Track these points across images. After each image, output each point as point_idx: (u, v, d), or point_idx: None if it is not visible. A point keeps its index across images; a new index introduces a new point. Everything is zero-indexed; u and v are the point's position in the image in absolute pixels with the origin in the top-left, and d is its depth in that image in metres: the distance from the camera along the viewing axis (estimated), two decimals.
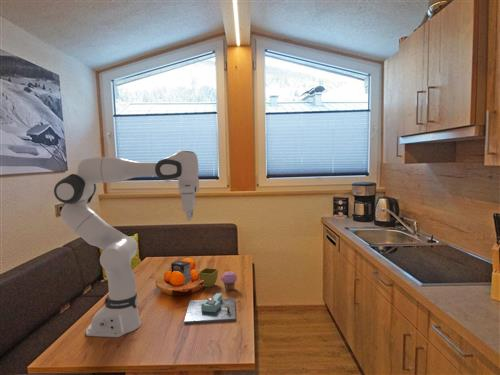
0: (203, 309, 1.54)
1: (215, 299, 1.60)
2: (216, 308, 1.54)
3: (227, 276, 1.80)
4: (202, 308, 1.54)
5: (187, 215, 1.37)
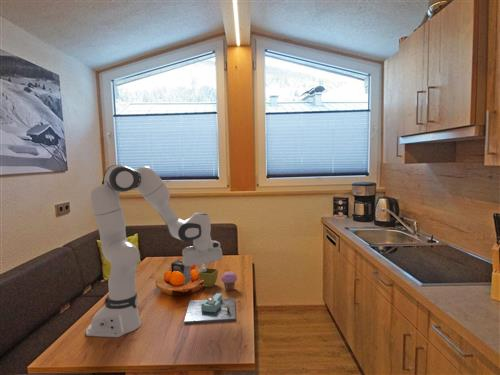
0: (203, 309, 1.54)
1: (215, 299, 1.60)
2: (216, 308, 1.54)
3: (227, 276, 1.80)
4: (202, 308, 1.54)
5: None
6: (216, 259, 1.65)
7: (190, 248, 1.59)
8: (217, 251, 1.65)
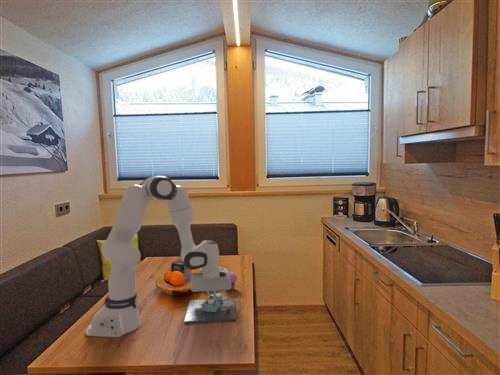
0: (203, 309, 1.54)
1: (215, 299, 1.60)
2: (216, 308, 1.54)
3: None
4: (202, 308, 1.54)
5: None
6: (224, 288, 1.63)
7: (198, 274, 1.63)
8: (225, 280, 1.63)
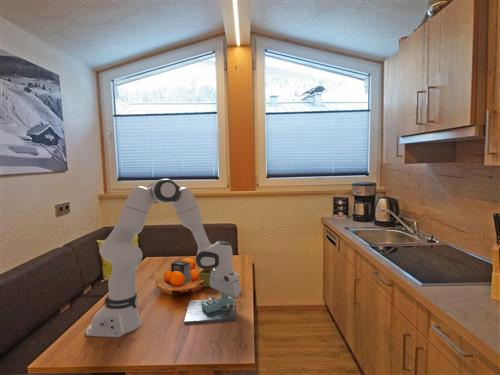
0: (202, 306, 1.57)
1: (218, 301, 1.58)
2: (210, 309, 1.53)
3: None
4: (202, 305, 1.58)
5: (225, 296, 1.62)
6: (230, 294, 1.57)
7: (215, 272, 1.67)
8: (230, 286, 1.56)
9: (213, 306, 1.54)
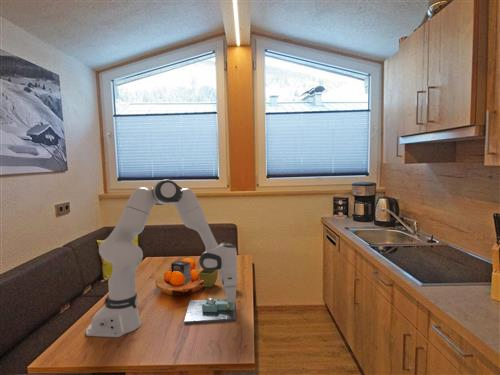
0: None
1: (218, 303, 1.55)
2: (205, 309, 1.54)
3: None
4: None
5: None
6: None
7: None
8: None
9: (208, 306, 1.53)
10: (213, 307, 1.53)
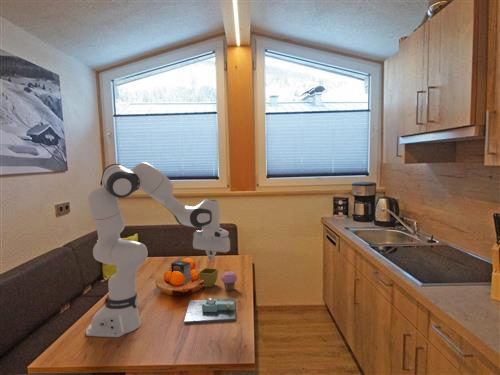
0: None
1: (218, 303, 1.55)
2: (205, 309, 1.54)
3: (227, 276, 1.80)
4: None
5: (213, 255, 1.60)
6: (220, 250, 1.57)
7: (199, 232, 1.64)
8: (221, 242, 1.56)
9: (208, 306, 1.53)
10: (213, 307, 1.53)
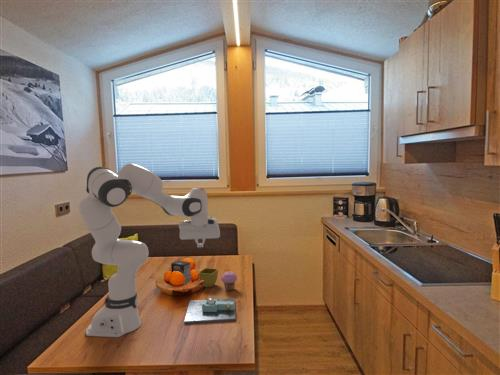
0: None
1: (218, 303, 1.55)
2: (205, 309, 1.54)
3: (227, 276, 1.80)
4: None
5: None
6: (213, 236, 1.62)
7: (186, 222, 1.62)
8: (214, 228, 1.62)
9: (208, 306, 1.53)
10: (213, 307, 1.53)
